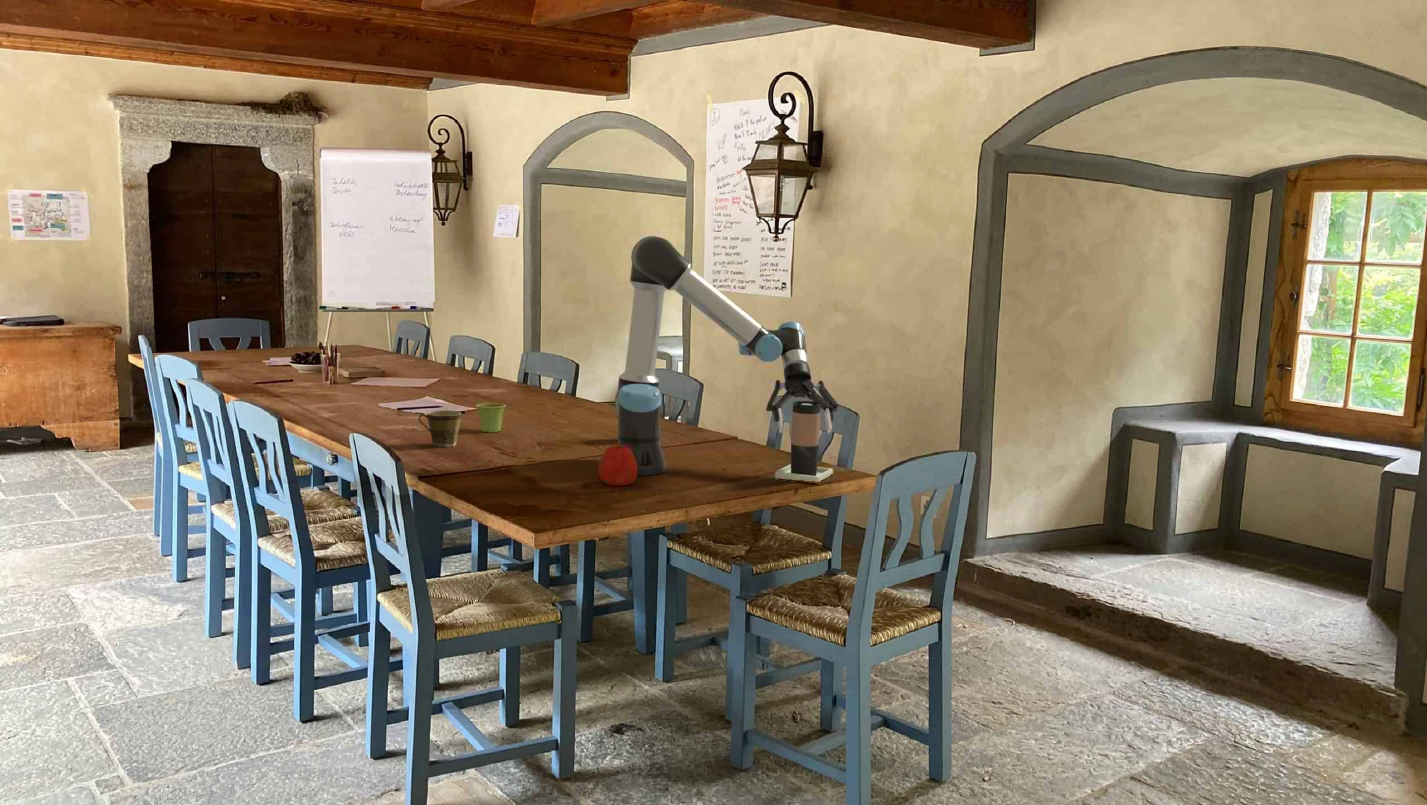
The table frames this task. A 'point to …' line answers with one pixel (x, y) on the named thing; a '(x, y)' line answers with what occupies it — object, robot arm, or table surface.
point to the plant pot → (491, 416)
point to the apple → (618, 466)
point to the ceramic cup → (443, 427)
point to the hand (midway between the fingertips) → (805, 430)
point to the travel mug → (805, 437)
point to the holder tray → (786, 474)
